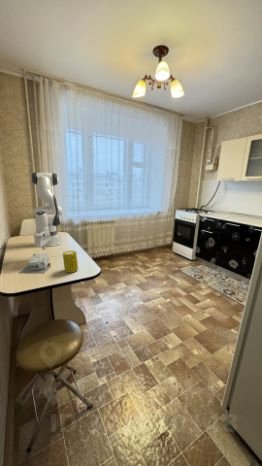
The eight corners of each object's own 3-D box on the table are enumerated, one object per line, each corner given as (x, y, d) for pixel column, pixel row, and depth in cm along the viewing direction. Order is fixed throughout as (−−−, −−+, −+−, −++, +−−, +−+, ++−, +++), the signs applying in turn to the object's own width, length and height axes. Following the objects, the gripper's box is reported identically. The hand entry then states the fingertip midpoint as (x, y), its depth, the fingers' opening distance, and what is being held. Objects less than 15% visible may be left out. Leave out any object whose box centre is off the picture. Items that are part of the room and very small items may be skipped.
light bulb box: (35, 260, 148) (30, 269, 138) (33, 253, 144) (28, 262, 135) (49, 260, 149) (46, 269, 140) (48, 252, 146) (44, 261, 136)
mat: (27, 265, 146) (27, 265, 146) (51, 266, 146) (51, 265, 145) (18, 272, 134) (18, 272, 134) (44, 273, 134) (44, 273, 134)
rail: (30, 264, 148) (29, 262, 147) (50, 265, 147) (50, 262, 147) (28, 265, 146) (28, 263, 145) (49, 266, 146) (49, 263, 145)
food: (69, 276, 134) (63, 272, 141) (84, 268, 141) (77, 264, 148) (62, 257, 128) (56, 254, 135) (78, 249, 135) (71, 247, 142)
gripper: (44, 229, 161) (46, 244, 164) (32, 235, 141) (34, 253, 144) (52, 229, 161) (53, 245, 164) (40, 236, 141) (42, 253, 144)
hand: (44, 249), depth 154 cm, fingers closed
